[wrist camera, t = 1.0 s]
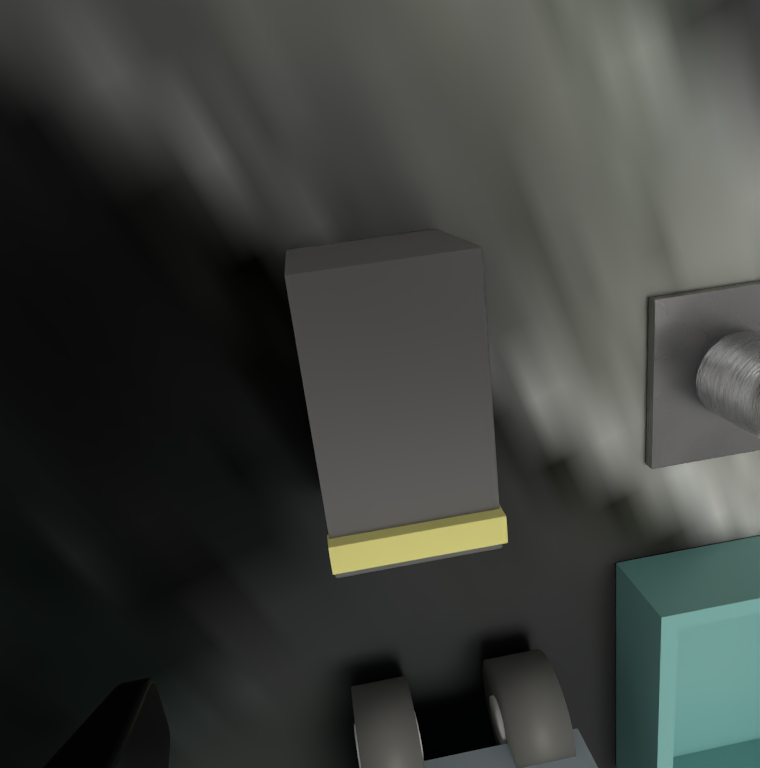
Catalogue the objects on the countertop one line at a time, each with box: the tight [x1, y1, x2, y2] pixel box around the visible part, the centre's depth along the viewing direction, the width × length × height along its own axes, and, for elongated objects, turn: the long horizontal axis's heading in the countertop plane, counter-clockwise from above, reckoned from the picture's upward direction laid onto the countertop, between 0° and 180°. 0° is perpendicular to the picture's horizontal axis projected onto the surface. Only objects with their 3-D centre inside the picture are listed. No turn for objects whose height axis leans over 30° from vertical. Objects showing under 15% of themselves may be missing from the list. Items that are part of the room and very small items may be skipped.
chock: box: [284, 229, 508, 578], centre depth 18 cm, size 5×8×5 cm, turn 7°
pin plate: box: [646, 281, 760, 469], centre depth 22 cm, size 6×6×1 cm
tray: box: [616, 536, 760, 768], centre depth 24 cm, size 8×10×3 cm
